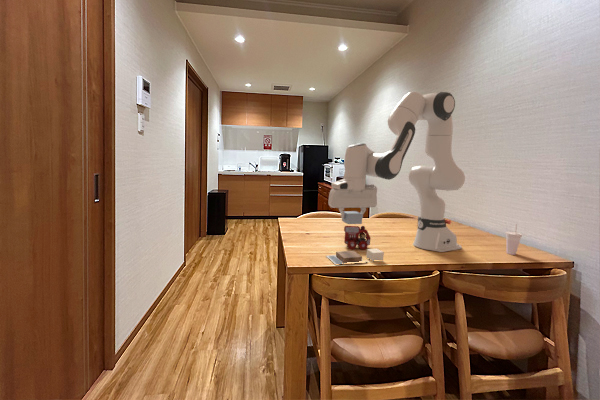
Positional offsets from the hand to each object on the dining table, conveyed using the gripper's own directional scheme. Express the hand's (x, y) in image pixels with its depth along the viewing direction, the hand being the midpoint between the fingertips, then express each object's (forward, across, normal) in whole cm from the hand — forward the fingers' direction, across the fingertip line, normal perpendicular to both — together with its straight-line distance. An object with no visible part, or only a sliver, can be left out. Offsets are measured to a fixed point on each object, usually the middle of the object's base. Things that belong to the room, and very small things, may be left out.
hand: (351, 218), depth 130 cm
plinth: (+17, 0, 0) cm, 17 cm away
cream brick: (+18, -11, +2) cm, 21 cm away
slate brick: (+2, 0, 0) cm, 2 cm away
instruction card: (+18, +1, 0) cm, 18 cm away
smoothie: (+17, -79, +7) cm, 81 cm away
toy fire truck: (+18, -11, -16) cm, 26 cm away
